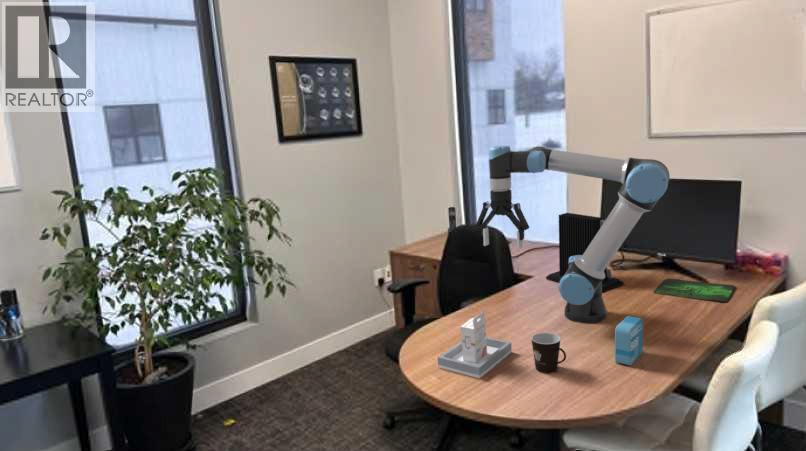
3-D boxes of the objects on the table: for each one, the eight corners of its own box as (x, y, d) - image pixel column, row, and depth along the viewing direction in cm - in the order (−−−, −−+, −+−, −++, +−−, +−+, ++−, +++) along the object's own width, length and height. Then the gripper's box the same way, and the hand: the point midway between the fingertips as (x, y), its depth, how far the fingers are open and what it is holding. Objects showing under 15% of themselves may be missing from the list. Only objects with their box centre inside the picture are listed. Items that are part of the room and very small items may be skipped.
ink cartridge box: (473, 350, 190) (471, 308, 186) (487, 353, 187) (485, 310, 184) (462, 361, 183) (459, 317, 179) (476, 363, 180) (474, 319, 177)
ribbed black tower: (627, 284, 246) (627, 215, 240) (599, 294, 236) (599, 223, 230) (570, 270, 271) (569, 208, 265) (543, 279, 261) (541, 214, 255)
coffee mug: (528, 363, 179) (527, 334, 177) (555, 361, 180) (554, 331, 178) (540, 381, 168) (539, 349, 166) (568, 378, 169) (568, 346, 167)
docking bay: (511, 352, 188) (511, 342, 188) (479, 378, 172) (479, 367, 172) (472, 343, 198) (471, 333, 197) (438, 367, 181) (437, 357, 181)
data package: (629, 367, 173) (630, 330, 170) (614, 363, 176) (614, 327, 173) (642, 352, 182) (643, 317, 179) (628, 349, 184) (628, 314, 182)
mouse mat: (651, 294, 233) (651, 291, 233) (665, 279, 250) (665, 276, 250) (727, 304, 216) (727, 302, 216) (736, 287, 233) (736, 285, 233)
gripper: (537, 188, 200) (539, 247, 205) (475, 186, 215) (478, 241, 220) (528, 192, 194) (529, 252, 199) (465, 189, 210) (468, 246, 214)
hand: (502, 246), depth 209 cm, fingers open, 13 cm apart
